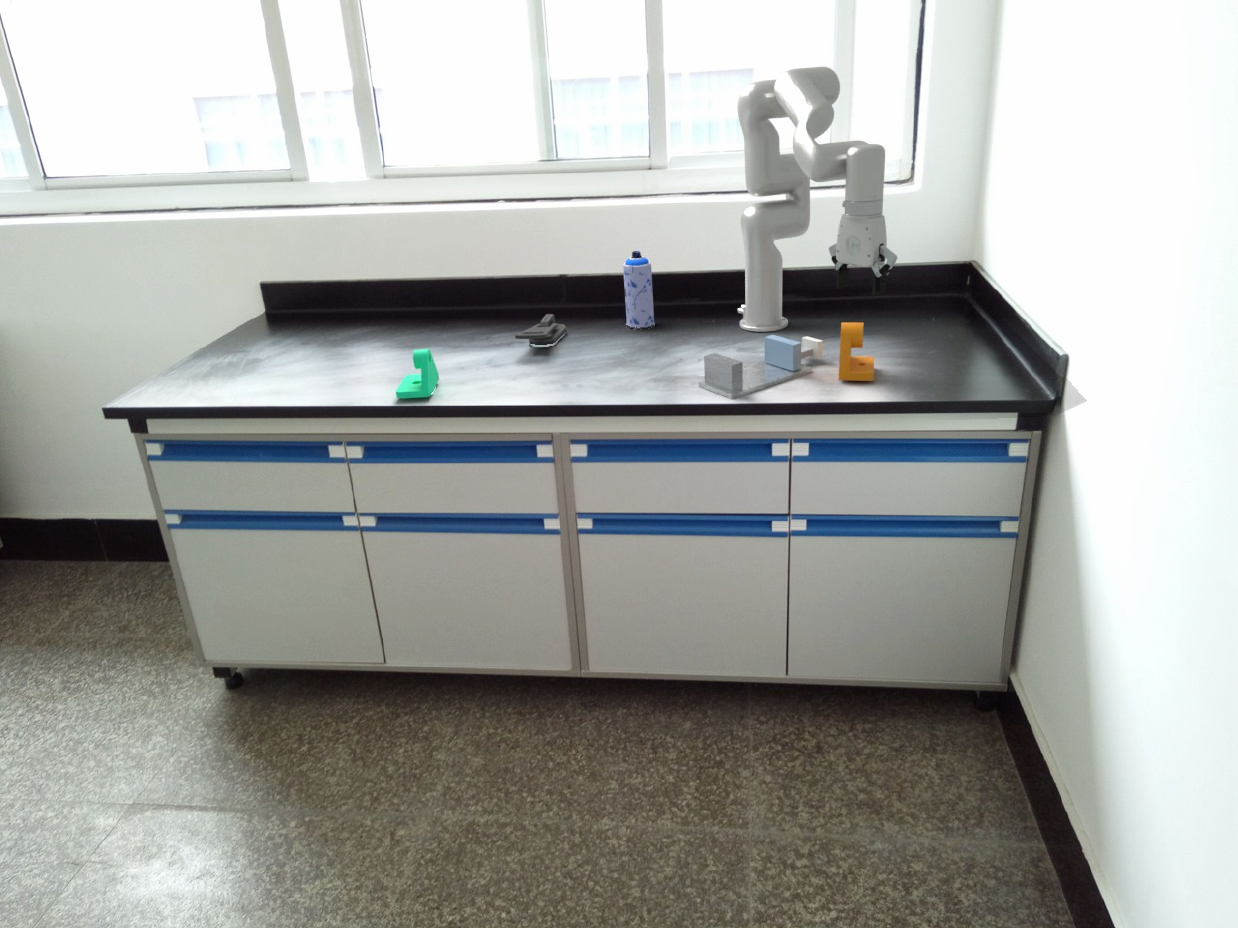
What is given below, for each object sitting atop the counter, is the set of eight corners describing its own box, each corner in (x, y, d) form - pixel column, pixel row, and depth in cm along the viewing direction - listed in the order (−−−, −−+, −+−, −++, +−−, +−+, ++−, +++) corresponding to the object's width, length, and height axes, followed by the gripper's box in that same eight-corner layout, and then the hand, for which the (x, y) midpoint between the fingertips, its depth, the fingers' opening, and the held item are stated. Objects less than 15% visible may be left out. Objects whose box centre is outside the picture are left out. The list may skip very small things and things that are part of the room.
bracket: (873, 384, 195) (876, 330, 190) (838, 383, 197) (840, 330, 192) (873, 368, 204) (876, 316, 199) (840, 367, 206) (842, 316, 201)
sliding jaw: (764, 362, 209) (764, 337, 206) (800, 350, 215) (800, 326, 212) (792, 371, 202) (793, 345, 200) (828, 359, 208) (829, 333, 205)
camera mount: (407, 385, 215) (400, 343, 211) (439, 383, 215) (433, 341, 210) (396, 403, 204) (388, 359, 200) (430, 401, 204) (423, 357, 200)
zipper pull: (511, 335, 223) (534, 308, 246) (514, 361, 226) (537, 332, 249) (547, 334, 222) (566, 307, 244) (549, 360, 225) (568, 331, 247)
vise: (698, 386, 201) (697, 356, 198) (777, 361, 213) (777, 332, 210) (731, 399, 192) (731, 367, 189) (811, 372, 204) (812, 342, 201)
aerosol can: (628, 321, 251) (623, 249, 243) (656, 321, 250) (652, 248, 242) (624, 329, 244) (619, 255, 236) (653, 329, 243) (649, 254, 235)
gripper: (819, 207, 190) (817, 288, 197) (885, 214, 177) (881, 301, 184) (843, 202, 194) (841, 282, 201) (910, 209, 181) (905, 294, 188)
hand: (860, 291), depth 193 cm, fingers open, 9 cm apart
